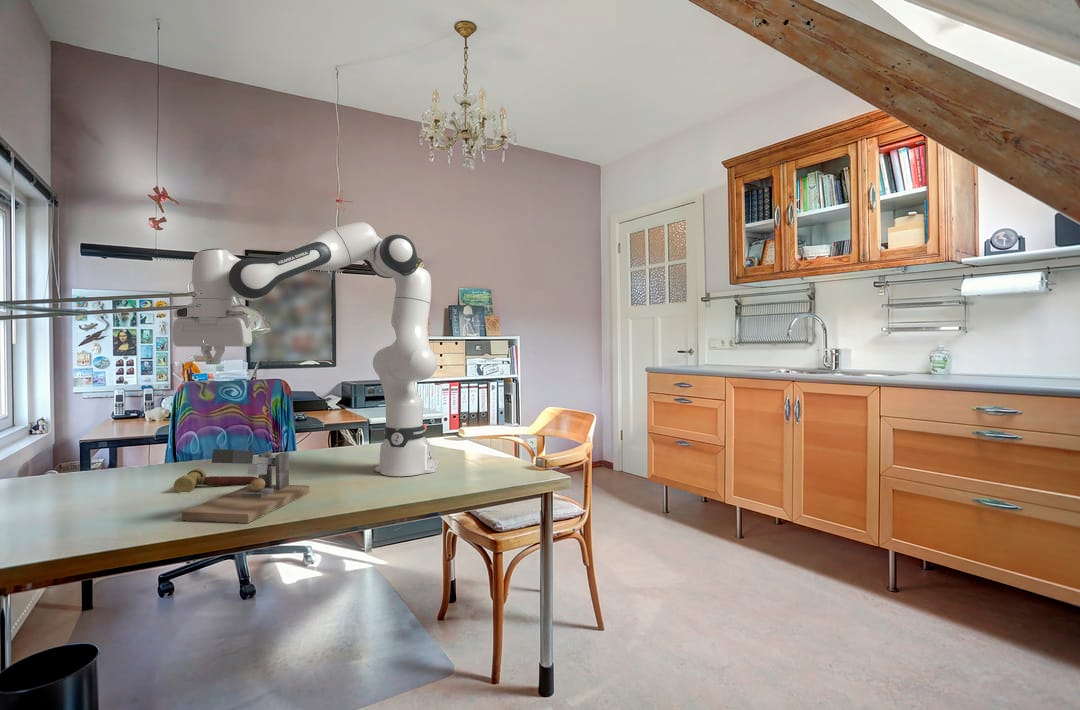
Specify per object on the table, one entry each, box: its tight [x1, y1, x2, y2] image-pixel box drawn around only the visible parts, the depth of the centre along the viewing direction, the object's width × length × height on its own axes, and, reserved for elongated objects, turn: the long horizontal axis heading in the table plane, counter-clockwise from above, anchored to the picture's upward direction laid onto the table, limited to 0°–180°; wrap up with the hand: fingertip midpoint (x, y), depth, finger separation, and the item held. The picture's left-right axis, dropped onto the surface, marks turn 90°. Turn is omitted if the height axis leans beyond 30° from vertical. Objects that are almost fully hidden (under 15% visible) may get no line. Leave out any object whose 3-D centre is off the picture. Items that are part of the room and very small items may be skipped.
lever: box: [211, 448, 277, 476], centre depth 128 cm, size 20×5×6 cm, turn 173°
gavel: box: [173, 468, 258, 494], centre depth 147 cm, size 21×5×10 cm
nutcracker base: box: [181, 451, 310, 524], centre depth 128 cm, size 24×16×11 cm, turn 173°
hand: (213, 364), depth 137 cm, fingers closed
